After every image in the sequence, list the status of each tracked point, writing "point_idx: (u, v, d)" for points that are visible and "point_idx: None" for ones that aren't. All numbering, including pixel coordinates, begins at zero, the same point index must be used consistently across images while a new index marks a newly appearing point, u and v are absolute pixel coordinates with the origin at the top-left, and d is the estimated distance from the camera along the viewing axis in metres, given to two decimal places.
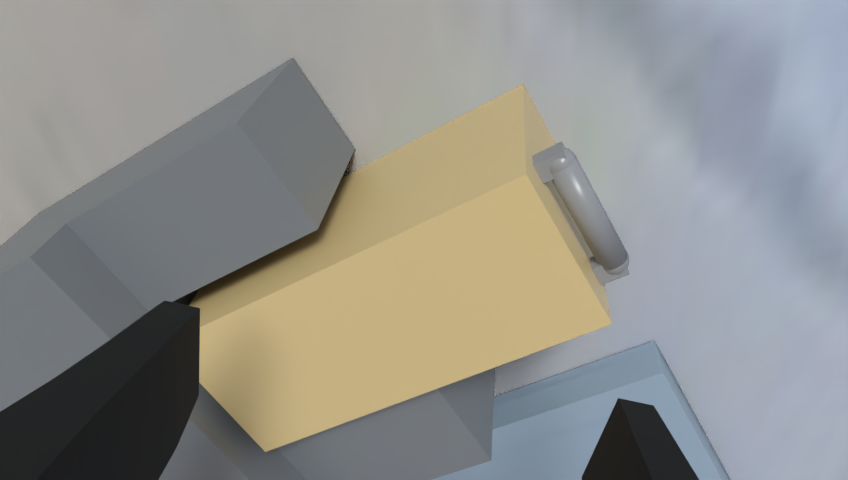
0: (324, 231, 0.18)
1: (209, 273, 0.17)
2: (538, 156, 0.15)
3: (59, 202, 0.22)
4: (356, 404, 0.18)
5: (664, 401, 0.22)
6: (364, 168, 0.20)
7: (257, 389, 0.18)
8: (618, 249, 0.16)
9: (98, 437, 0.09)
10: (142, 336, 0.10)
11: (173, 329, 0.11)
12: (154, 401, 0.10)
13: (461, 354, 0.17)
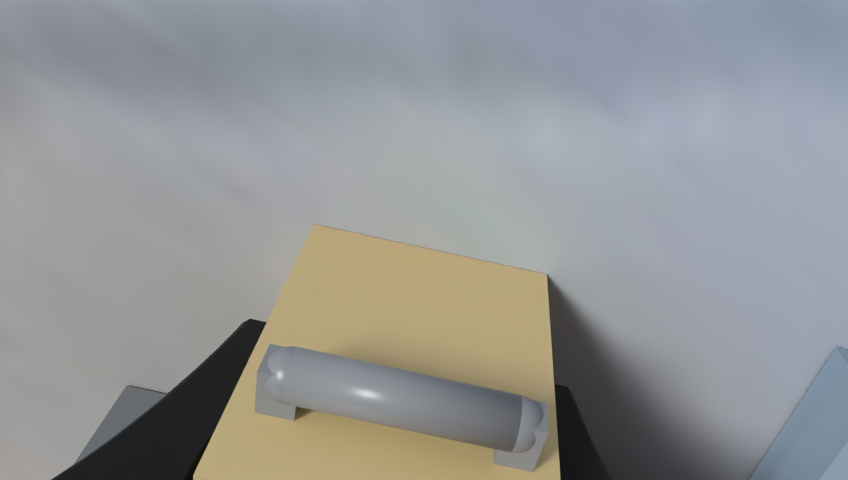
0: None
1: None
2: None
3: None
4: None
5: None
6: None
7: None
8: (489, 417, 0.08)
9: None
10: (237, 356, 0.10)
11: None
12: None
13: None
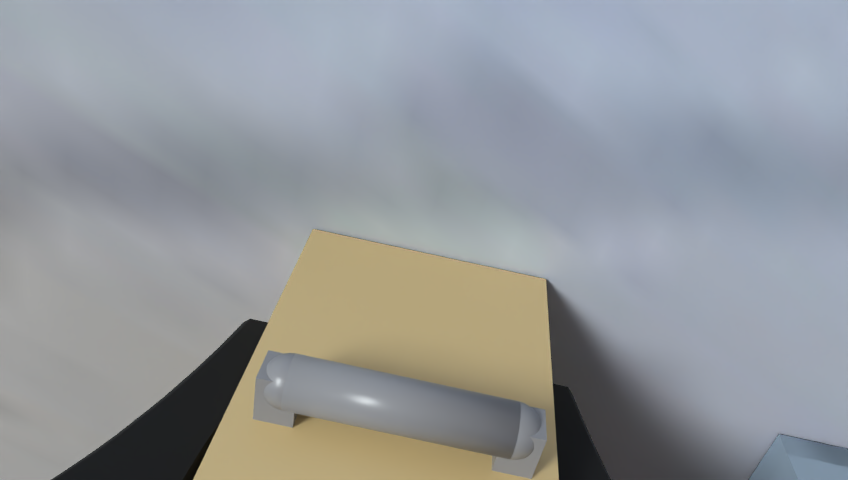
0: None
1: None
2: None
3: None
4: None
5: None
6: None
7: None
8: (487, 424, 0.08)
9: None
10: (237, 356, 0.10)
11: None
12: None
13: None
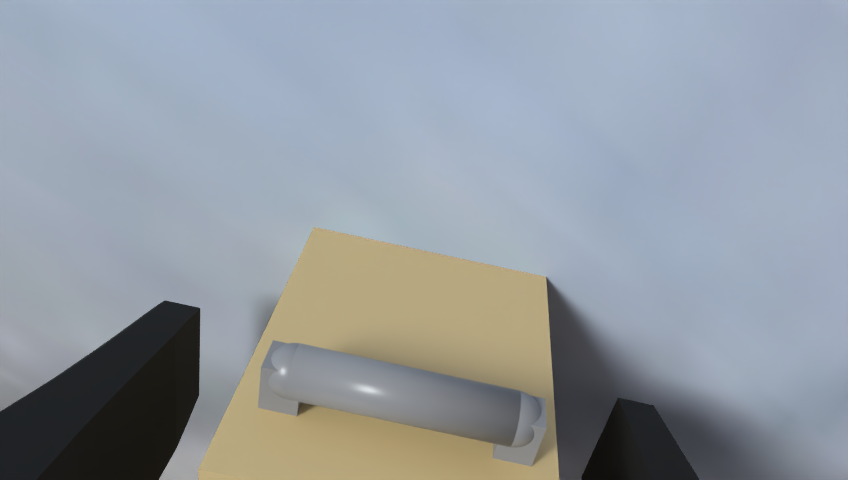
0: None
1: None
2: None
3: None
4: None
5: None
6: None
7: None
8: (488, 412, 0.08)
9: (98, 437, 0.09)
10: (142, 336, 0.10)
11: (173, 329, 0.11)
12: (154, 401, 0.10)
13: None
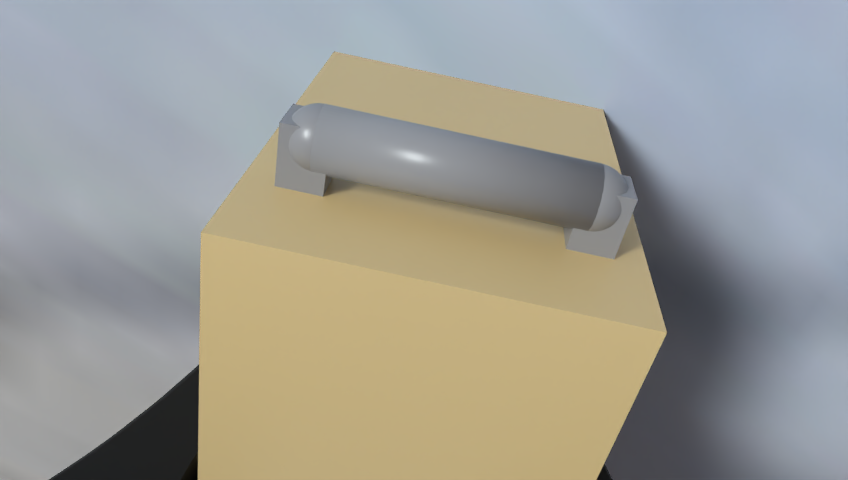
0: None
1: None
2: None
3: None
4: None
5: None
6: None
7: None
8: (565, 178, 0.07)
9: None
10: None
11: None
12: None
13: None
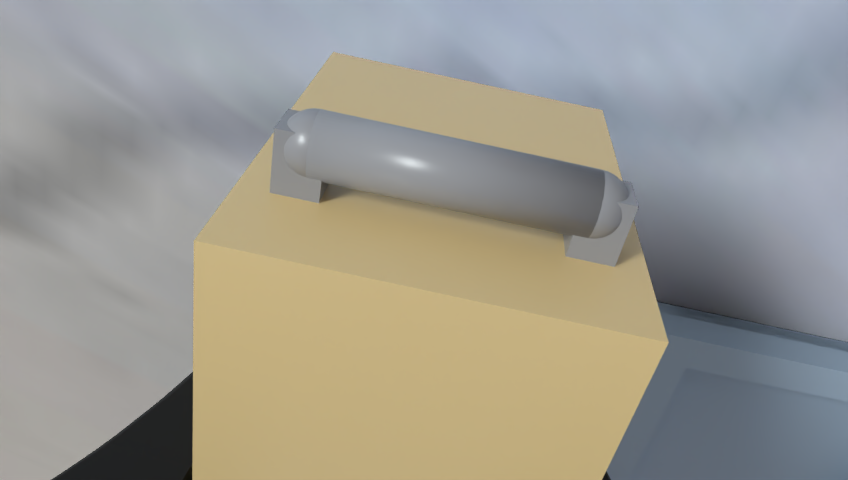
0: None
1: None
2: None
3: None
4: None
5: (698, 352, 0.20)
6: None
7: None
8: (564, 185, 0.07)
9: None
10: None
11: None
12: None
13: None
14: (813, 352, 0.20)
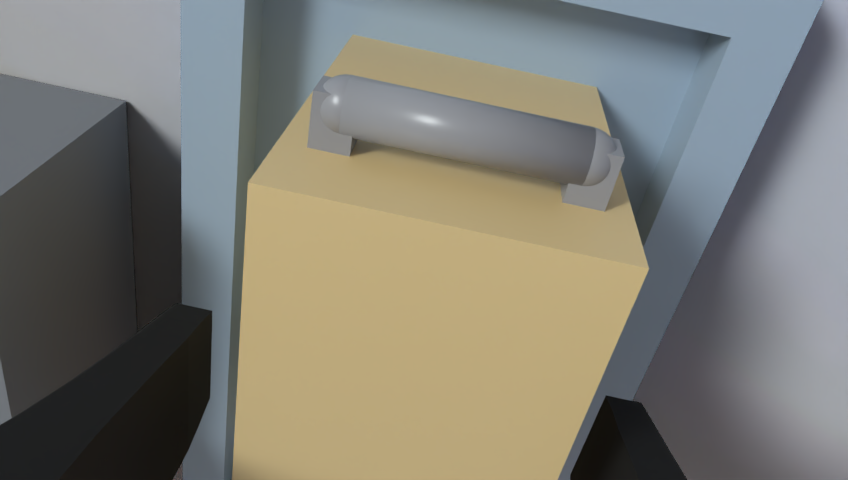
0: None
1: None
2: None
3: None
4: None
5: None
6: None
7: None
8: (561, 139, 0.08)
9: (114, 440, 0.09)
10: (156, 339, 0.10)
11: (186, 332, 0.11)
12: (167, 404, 0.10)
13: (502, 474, 0.09)
14: None
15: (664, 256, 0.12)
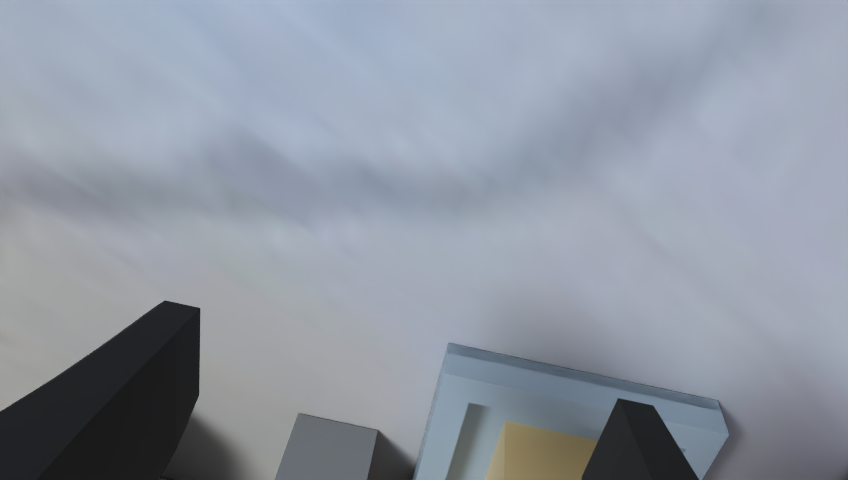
0: None
1: None
2: None
3: None
4: None
5: (476, 389, 0.22)
6: None
7: None
8: None
9: (98, 437, 0.09)
10: (142, 336, 0.10)
11: (173, 329, 0.11)
12: (154, 401, 0.10)
13: None
14: (580, 389, 0.23)
15: None
